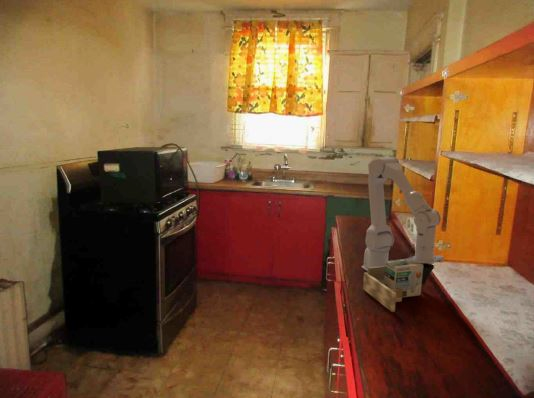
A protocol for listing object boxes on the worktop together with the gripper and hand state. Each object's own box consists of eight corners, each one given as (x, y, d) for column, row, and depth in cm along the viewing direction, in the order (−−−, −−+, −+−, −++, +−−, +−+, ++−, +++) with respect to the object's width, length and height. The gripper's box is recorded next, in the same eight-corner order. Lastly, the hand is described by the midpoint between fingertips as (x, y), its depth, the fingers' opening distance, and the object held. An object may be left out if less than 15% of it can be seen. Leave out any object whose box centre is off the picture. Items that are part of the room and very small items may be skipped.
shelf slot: (363, 289, 130) (364, 267, 129) (381, 286, 132) (383, 265, 131) (391, 312, 114) (393, 287, 113) (412, 309, 116) (414, 284, 115)
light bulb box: (394, 299, 123) (396, 267, 121) (382, 290, 129) (384, 260, 127) (421, 295, 126) (424, 264, 124) (408, 287, 132) (411, 257, 130)
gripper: (414, 251, 121) (411, 290, 123) (451, 247, 125) (447, 285, 127) (400, 244, 128) (397, 282, 130) (436, 241, 132) (433, 277, 134)
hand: (421, 283), depth 129 cm, fingers closed
